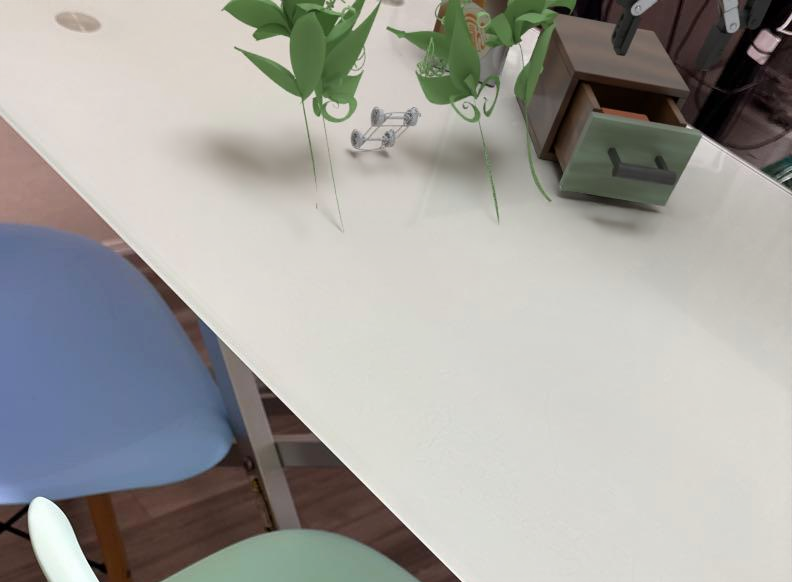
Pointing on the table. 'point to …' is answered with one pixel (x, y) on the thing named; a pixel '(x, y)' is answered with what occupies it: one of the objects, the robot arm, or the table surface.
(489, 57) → the coffee box
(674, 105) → the drawer
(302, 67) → the plant cuttings
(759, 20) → the robot arm
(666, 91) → the cabinet
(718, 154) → the table surface
